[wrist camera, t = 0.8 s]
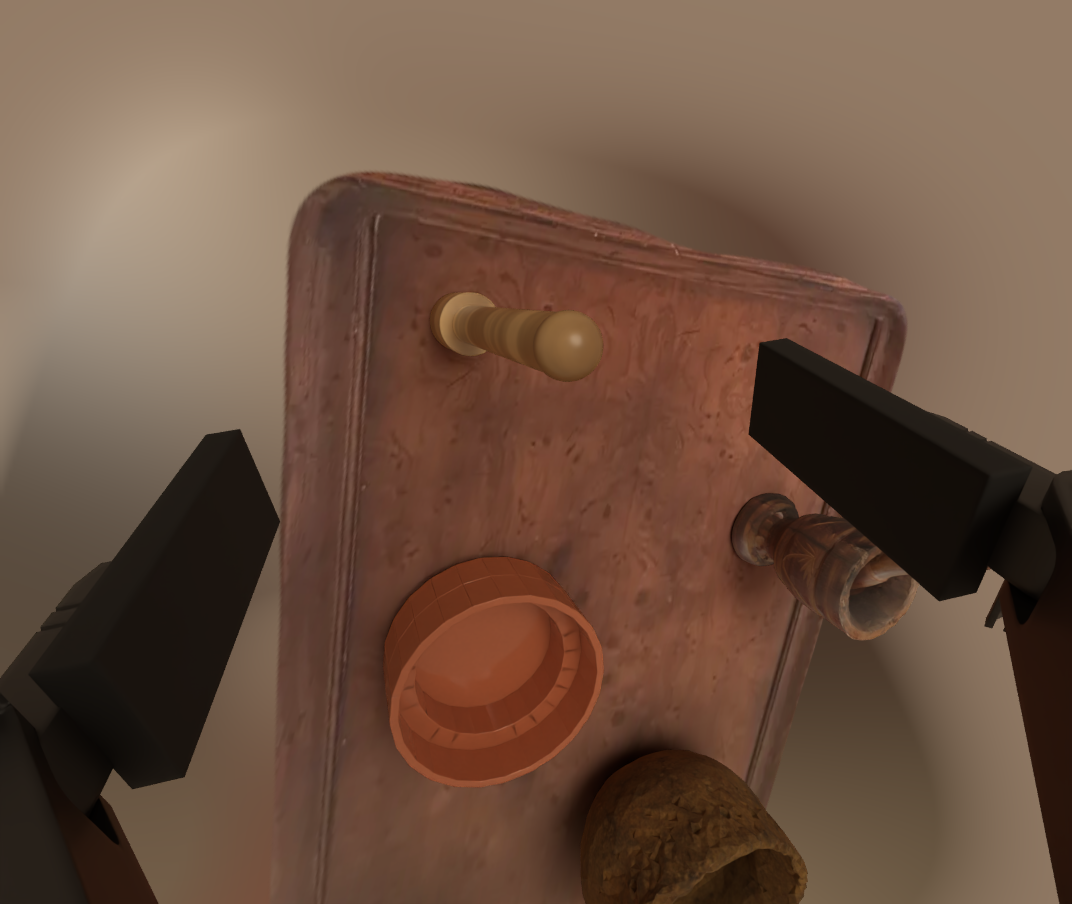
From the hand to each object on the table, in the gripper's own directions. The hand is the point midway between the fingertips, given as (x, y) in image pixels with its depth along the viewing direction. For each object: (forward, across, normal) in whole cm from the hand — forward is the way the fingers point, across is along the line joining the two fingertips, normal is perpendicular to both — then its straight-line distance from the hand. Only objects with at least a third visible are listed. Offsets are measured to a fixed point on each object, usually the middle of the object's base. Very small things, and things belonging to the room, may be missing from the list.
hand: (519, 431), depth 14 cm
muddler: (+26, -1, -4) cm, 26 cm away
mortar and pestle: (+26, +25, -28) cm, 45 cm away
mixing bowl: (+20, -4, -30) cm, 36 cm away
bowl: (+17, +9, -54) cm, 57 cm away
